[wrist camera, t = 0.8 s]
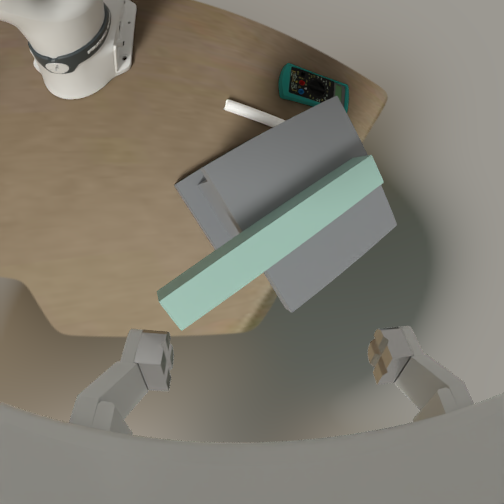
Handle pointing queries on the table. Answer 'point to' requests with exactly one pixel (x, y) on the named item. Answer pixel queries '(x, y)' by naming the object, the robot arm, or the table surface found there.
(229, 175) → the stand
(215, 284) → the bar
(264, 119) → the white rod
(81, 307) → the table surface
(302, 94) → the digital multimeter
